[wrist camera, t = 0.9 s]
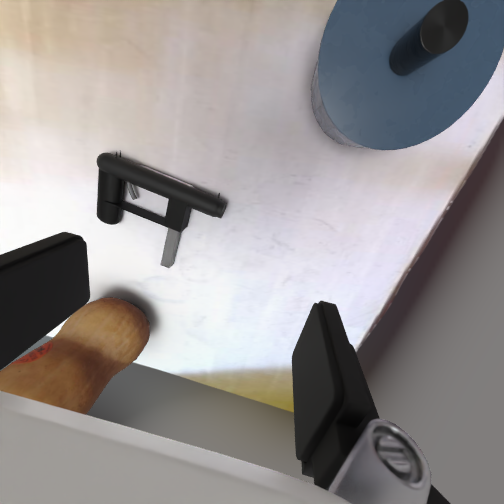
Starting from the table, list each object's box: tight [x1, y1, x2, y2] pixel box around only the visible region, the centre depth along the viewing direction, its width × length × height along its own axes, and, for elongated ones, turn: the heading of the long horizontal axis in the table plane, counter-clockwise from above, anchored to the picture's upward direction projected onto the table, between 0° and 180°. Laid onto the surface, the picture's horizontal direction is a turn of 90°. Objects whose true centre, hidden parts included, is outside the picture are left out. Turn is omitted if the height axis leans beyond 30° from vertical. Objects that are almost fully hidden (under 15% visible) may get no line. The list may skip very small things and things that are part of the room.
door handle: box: [97, 152, 227, 268], centre depth 38 cm, size 3×20×16 cm
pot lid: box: [317, 0, 504, 150], centre depth 18 cm, size 15×15×6 cm
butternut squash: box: [0, 297, 150, 415], centre depth 37 cm, size 14×13×25 cm
